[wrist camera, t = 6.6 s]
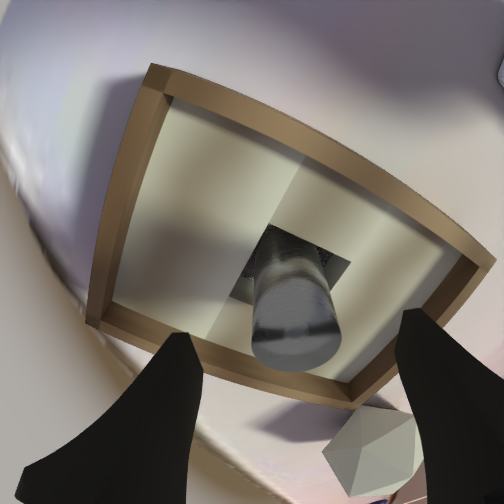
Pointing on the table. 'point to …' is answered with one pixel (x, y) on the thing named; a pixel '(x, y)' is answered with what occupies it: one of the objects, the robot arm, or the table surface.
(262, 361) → the peg
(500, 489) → the robot arm
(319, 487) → the table surface
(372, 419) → the die
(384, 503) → the toy lamp
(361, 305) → the peg box
